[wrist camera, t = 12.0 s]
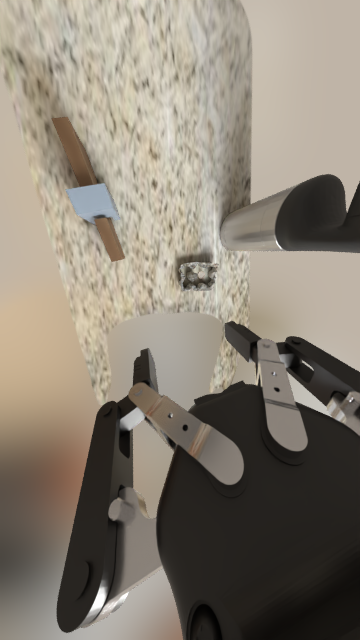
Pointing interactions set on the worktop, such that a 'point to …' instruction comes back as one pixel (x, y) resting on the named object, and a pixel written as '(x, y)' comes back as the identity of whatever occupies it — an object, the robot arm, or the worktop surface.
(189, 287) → the egg carton
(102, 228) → the slotted plate
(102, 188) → the notched block
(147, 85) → the worktop surface
